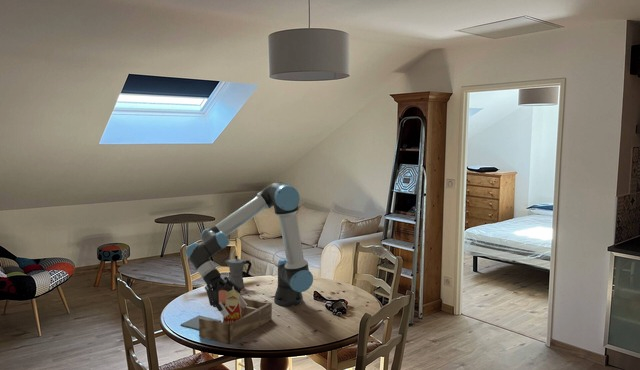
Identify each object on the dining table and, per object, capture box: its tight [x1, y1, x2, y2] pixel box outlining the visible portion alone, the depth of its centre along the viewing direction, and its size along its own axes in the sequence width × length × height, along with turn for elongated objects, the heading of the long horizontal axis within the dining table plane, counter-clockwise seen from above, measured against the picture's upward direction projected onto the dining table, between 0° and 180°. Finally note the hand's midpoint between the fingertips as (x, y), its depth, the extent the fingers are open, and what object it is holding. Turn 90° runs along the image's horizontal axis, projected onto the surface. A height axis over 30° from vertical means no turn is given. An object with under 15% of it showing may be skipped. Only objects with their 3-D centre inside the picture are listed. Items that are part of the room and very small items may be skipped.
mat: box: [180, 314, 222, 331], centre depth 243 cm, size 13×13×1 cm
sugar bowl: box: [219, 285, 228, 305], centre depth 273 cm, size 12×14×10 cm
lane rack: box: [198, 296, 273, 345], centre depth 240 cm, size 17×32×8 cm, turn 153°
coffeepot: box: [224, 255, 252, 289], centre depth 297 cm, size 15×9×18 cm, turn 82°
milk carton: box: [222, 286, 242, 324], centre depth 234 cm, size 9×9×20 cm
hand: (236, 311), depth 233 cm, fingers open, 13 cm apart
